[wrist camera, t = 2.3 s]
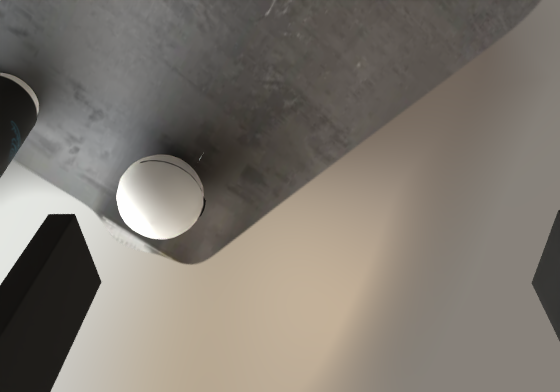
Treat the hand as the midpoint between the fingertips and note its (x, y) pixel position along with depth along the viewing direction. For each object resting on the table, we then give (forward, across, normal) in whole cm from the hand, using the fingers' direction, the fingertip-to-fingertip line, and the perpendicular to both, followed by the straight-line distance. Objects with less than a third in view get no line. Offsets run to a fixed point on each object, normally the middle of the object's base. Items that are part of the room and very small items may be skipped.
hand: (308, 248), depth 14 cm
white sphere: (+27, +12, +14) cm, 33 cm away
